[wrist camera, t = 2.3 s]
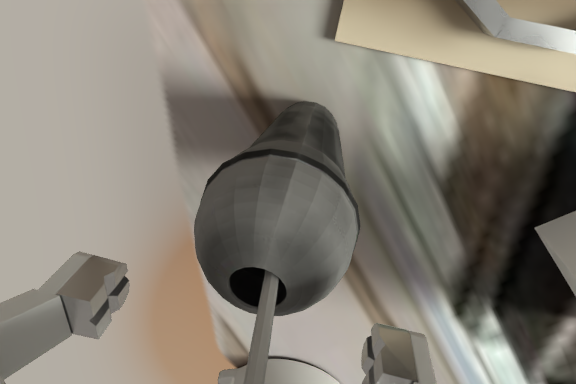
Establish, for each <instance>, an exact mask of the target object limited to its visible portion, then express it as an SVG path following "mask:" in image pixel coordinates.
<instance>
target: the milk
mask: <svg viewBox="0 0 576 384" xmlns="http://www.w3.org/2000/svg"><path fill="white" fill-rule="evenodd" d="M535 230H536V232H537V233H538V235H539V237H540V238H541V240H542V242H543V243H544V245H545V247H546V248H547V250H548V252H549V253H550V255H551V256H552V258H553V260H554V261H555V263H556V265H557V266H558V268H559V270H560V271H561V273H562V275H563V276H564V278H565V280H566V281H567V283H568V285H569V286H570V288H571V290H572V291H573V293H574V294H575V296H576V211H574V212H572V213H569V214H567V215H564V216H562V217H559V218H557V219H554V220H552V221H550V222H547V223H545V224H542V225H540V226H537V227H535Z"/></svg>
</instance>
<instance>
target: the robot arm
mask: <svg viewBox="0 0 576 384" xmlns="http://www.w3.org/2000/svg"><path fill="white" fill-rule="evenodd" d="M127 271H128V270H127V265H126V264H125V263H121V262H117V261H113V260H110V259H106V258H103V257H99V256H95V255H91V254H87V253H82V252H77V253H76V254H74V255H72V256H71V258H69V260H67V261H66V262H65V263H64V264H63V265H62V266H61V267H60V268H59V270H58V271H56V272H55V274H53V275H52V276H51V278H49V279H48V281H46V282H45V284H43V285H42V286H41V287H40V288H39V290H35V289H32V290H30V291H28V292H25V293H23V294H21V295H18V296H16V297H13V298H11V299H9V300H6V301H4V302H2V303H0V384H5V382H4V379H6V378H7V377H9V376H10V375H12V374H13V373H15V372H16V371H18V370H19V369H21V368H22V367H24V366H25V365H27V364H28V363H30V362H32V361H33V360H35V359H36V358H38V357H39V356H41V355H42V354H44V353H45V352H47V351H49V350H50V349H51V348H53V347H55V346H56V345H58V344H59V343H61V342H62V341H64V340H65V339H67V338H68V337H70V336H71V335H72V334H76V335H81V336H85V337H90V338H95V339H99V338H100V337H101V336H102V334H103V333H104V331H105V330H106V328H107V326H108V325H109V324H110V323H111V321H112V319H111V314H112V313H113V312H115V311H117V310H119V309H120V308H121V307H122V305H123V303H124V302H125V300H126V297H127V295H128V293H129V286H130V285H129V280H128V279H127V278H126V277H125V274H126V273H127ZM371 335H372V336H370V337H368V338H367V339H366V341H365V343H364V346H363V350H362V360H361V361H362V369H363V371H364V372H365V374H366V376H365V378H364V380H363V382H362V384H437V383H436V378H435V374H434V370H433V365H432V361H431V357H430V352H429V348H428V343H427V339H426V337H425V335H424V334H421V333H416V332H412V331H407V330H405V329H401V328H396V327H392V326H387V325H383V324H378V323H376V324H374V325H373V327H372V329H371ZM246 368H247V365H245V366H243V367H241V368H238V369H228V370H223V371H221V372H220V373H219V377H218V384H243V383H244V378H245V373H246ZM264 384H340V383H339V382H338V381H337V380H335V379H334V378H333V377H332V376H330V375H329V374H327V373H326V372H324V371H322V370H320V369H318V368H316V367H313V366H311V365H308V364H305V363H301V362H297V361H292V360H285V359H268V360H267V367H266V374H265V382H264Z"/></svg>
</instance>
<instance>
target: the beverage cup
mask: <svg viewBox="0 0 576 384" xmlns="http://www.w3.org/2000/svg"><path fill="white" fill-rule="evenodd" d="M359 230H360V220H359V213H358V206H357V203H356V201H355V200H354V198H353V195H352V193H351V190H350V188H349V185H348V183H347V181H346V179H345V173H344V165H343V158H342V151H341V144H340V137H339V130H338V128H337V123H336V121H335V119H334V117H333V115H332V114H331V113H330V112H329V111H328V110H327V109H326V108H325V107H323V106H321V105H319V104H317V103H313V102H300V103H296V104H294V105H292V106H290V107H288V108H287V109H286V110H285V111H284V112H282V113H281V114H280V115H279V116H278V118H277V119H276V120H275V121H274V122H273V123H272V124H271V125H270V126H269V127H268V128H267V129H266V130H265V132H264V133H263V134H262V135H261V136H260V137H259V138H258V139H257V140H256V141H255V142H254V143H253V144H252V146H251V147H250V148H249V149H247V150H245V151H243V152H241V153H240V154H238V155H237V156H235V157H234V158H232V159H230V160H228V161H226V162H224V163H223V164H222V165H221V166H220V167H219V168H218V169H217V170H216V171H215V173H214V174H213V175H212V176H211V177H210V178H209V179H208V181H207V184H206V187H205V190H204V193H203V196H202V199H201V203H200V206H199V209H198V212H197V215H196V219H195V226H194V235H195V249H196V254H197V259H198V261H199V263H200V265H201V268H202V270H203V272H204V274H205V276H206V278H207V280H208V282H209V283H210V284H211V285H212V286H213V288H214V289H215V290H216V291H217V292H218V293H219V294H220V295H221V296H222V297H223V298H224V299H225V300H227V301H228V302H230V303H231V304H232V305H234V306H235V307H238V308H240V309H242V310H245V311H247V312H249V313H253V314H257V317H256V322H255V327H254V332H253V337H252V342H251V347H250V352H249V357H248V363H247V368H246V373H245V378H244V383H243V384H264V382H265V374H266V367H267V360H268V353H269V346H270V339H271V332H272V325H273V318H274V316H283V315H288V314H292V313H296V312H300V311H303V310H305V309H307V308H309V307H310V306H312V305H314V304H315V303H317V302H319V301H320V300H322V299H323V298H325V297H326V296H327V295H328V294H329V293H330V292H331V291H332V290H333V289H334V287H335V286H336V285H337V283H338V282H339V281H340V280H341V278H342V277H343V275H344V274H345V272H346V271H347V269H348V267H349V264H350V261H351V257H352V253H353V251H354V248H355V245H356V242H357V238H358V234H359Z"/></svg>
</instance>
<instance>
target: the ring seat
mask: <svg viewBox="0 0 576 384" xmlns="http://www.w3.org/2000/svg"><path fill="white" fill-rule="evenodd" d="M335 41H338V42H343V43H348V44H352V45H357V46H362V47H366V48H371V49H376V50H380V51H385V52H390V53H394V54H399V55H404V56H408V57H413V58H418V59H422V60H427V61H432V62H437V63H441V64H446V65H451V66H455V67H460V68H465V69H469V70H474V71H479V72H483V73H488V74H493V75H497V76H502V77H507V78H511V79H516V80H521V81H525V82H530V83H535V84H539V85H544V86H549V87H554V88H558V89H563V90H568V91H572V92H576V0H344V2H343V6H342V11H341V15H340V20H339V24H338V28H337V33H336V37H335Z"/></svg>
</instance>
